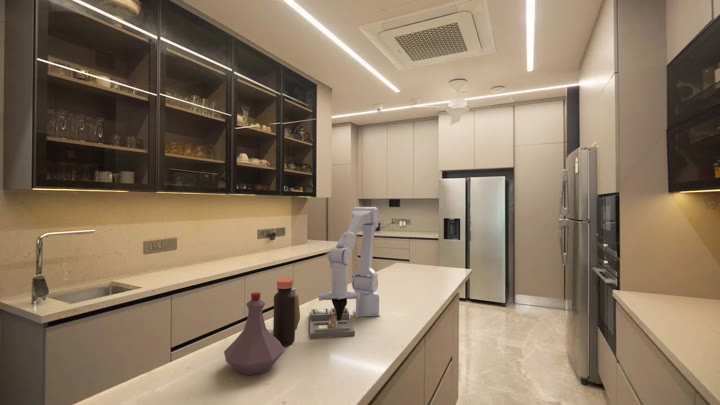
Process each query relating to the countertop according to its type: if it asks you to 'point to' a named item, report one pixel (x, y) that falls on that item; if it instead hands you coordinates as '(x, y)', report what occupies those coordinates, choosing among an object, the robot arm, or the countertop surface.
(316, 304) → the countertop surface
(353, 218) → the robot arm
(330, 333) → the panel
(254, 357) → the flask
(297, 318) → the squeeze bottle
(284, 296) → the vinegar
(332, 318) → the tan wooden step block
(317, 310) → the mint button
